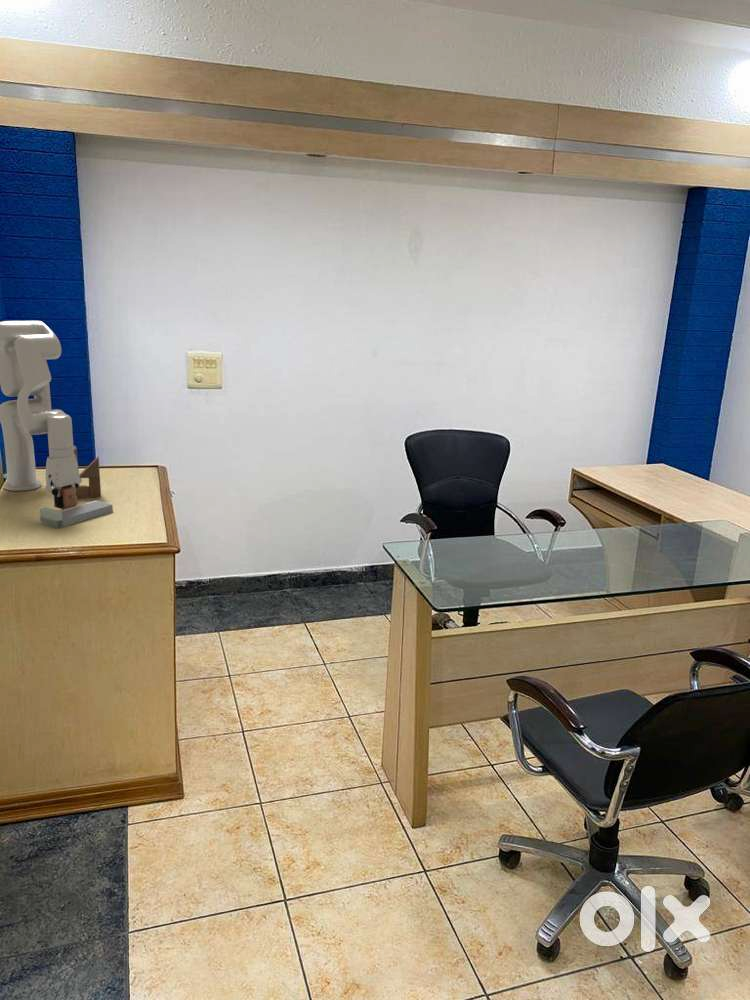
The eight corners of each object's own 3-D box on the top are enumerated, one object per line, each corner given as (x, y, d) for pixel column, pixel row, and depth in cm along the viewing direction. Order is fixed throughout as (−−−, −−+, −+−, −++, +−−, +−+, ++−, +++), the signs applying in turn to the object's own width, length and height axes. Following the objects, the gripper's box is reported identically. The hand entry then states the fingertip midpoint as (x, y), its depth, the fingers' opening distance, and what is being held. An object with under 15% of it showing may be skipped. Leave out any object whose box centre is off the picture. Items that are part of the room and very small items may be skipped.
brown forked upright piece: (100, 497, 281) (97, 447, 275) (68, 498, 278) (64, 448, 273) (101, 494, 284) (98, 445, 279) (69, 495, 281) (65, 445, 276)
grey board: (40, 523, 252) (39, 508, 250) (96, 507, 270) (95, 493, 268) (57, 528, 248) (56, 513, 246) (112, 511, 266) (112, 497, 265)
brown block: (54, 507, 263) (52, 487, 261) (64, 504, 267) (62, 484, 265) (71, 512, 259) (70, 491, 257) (81, 509, 263) (80, 488, 261)
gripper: (74, 445, 267) (78, 497, 272) (31, 455, 253) (36, 509, 258) (90, 449, 263) (93, 501, 269) (47, 458, 249) (51, 514, 255)
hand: (65, 504), depth 263 cm, fingers closed on brown block, 4 cm apart
